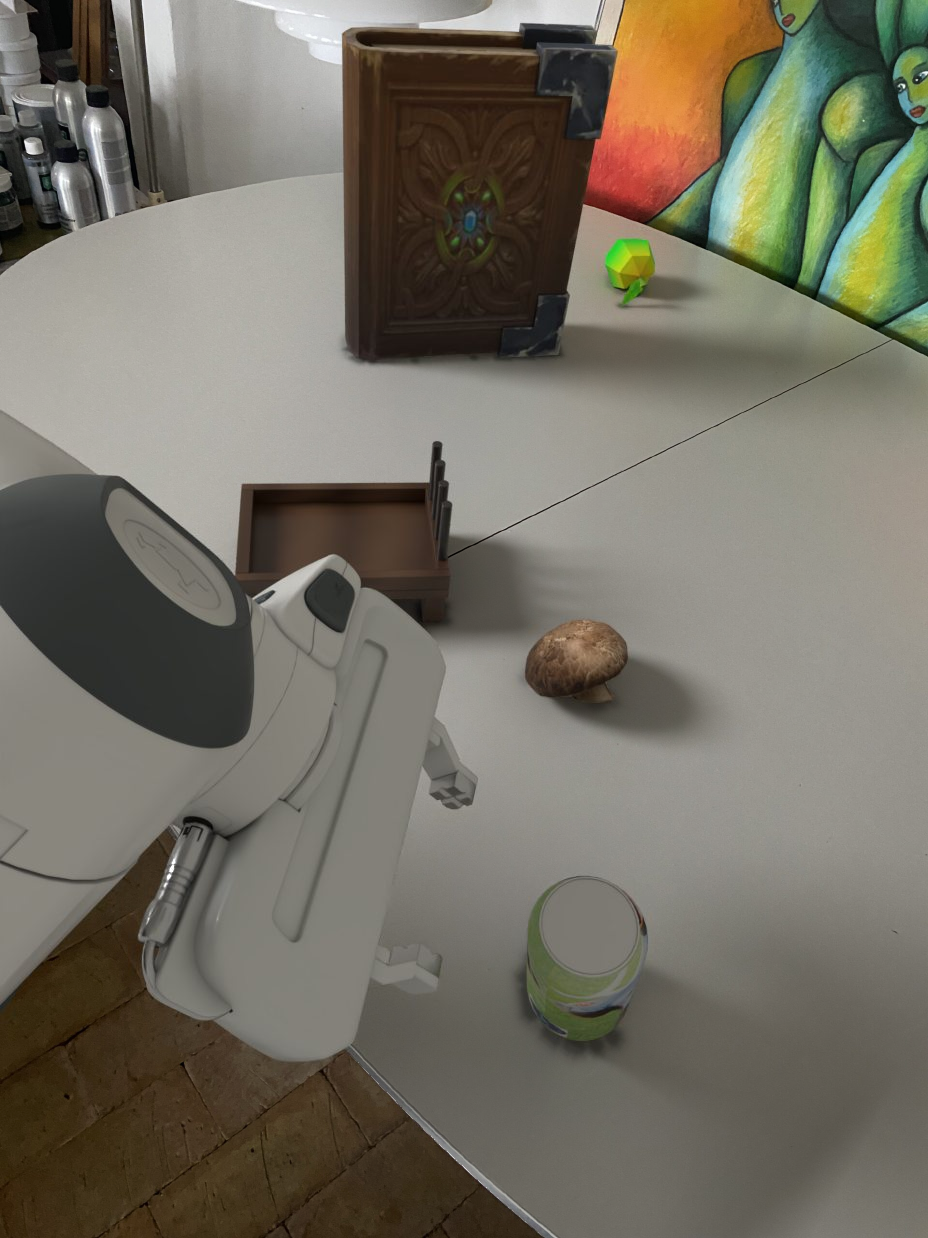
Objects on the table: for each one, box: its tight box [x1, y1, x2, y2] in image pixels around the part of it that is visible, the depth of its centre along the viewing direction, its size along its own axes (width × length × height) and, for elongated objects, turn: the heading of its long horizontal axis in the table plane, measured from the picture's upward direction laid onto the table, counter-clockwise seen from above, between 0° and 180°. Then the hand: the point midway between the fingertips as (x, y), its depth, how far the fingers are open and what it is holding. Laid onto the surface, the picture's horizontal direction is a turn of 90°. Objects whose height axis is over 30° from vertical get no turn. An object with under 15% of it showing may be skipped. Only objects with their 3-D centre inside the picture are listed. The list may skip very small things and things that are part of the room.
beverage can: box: [526, 875, 649, 1042], centre depth 47 cm, size 6×7×12 cm
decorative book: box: [341, 22, 619, 360], centre depth 87 cm, size 23×7×30 cm, turn 104°
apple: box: [604, 238, 656, 307], centre depth 108 cm, size 7×6×9 cm
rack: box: [234, 440, 453, 623], centre depth 69 cm, size 16×11×11 cm
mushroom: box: [524, 618, 629, 704], centre depth 65 cm, size 8×8×6 cm
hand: (449, 879), depth 42 cm, fingers open, 8 cm apart
